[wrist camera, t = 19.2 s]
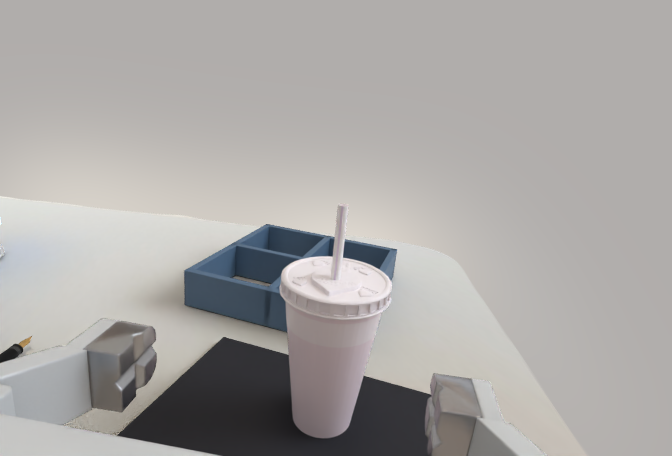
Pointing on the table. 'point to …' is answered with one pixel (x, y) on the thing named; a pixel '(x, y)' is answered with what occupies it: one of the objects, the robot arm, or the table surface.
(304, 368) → the smoothie
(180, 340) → the table surface
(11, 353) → the fountain pen
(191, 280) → the blue compartment grid
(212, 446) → the mat
